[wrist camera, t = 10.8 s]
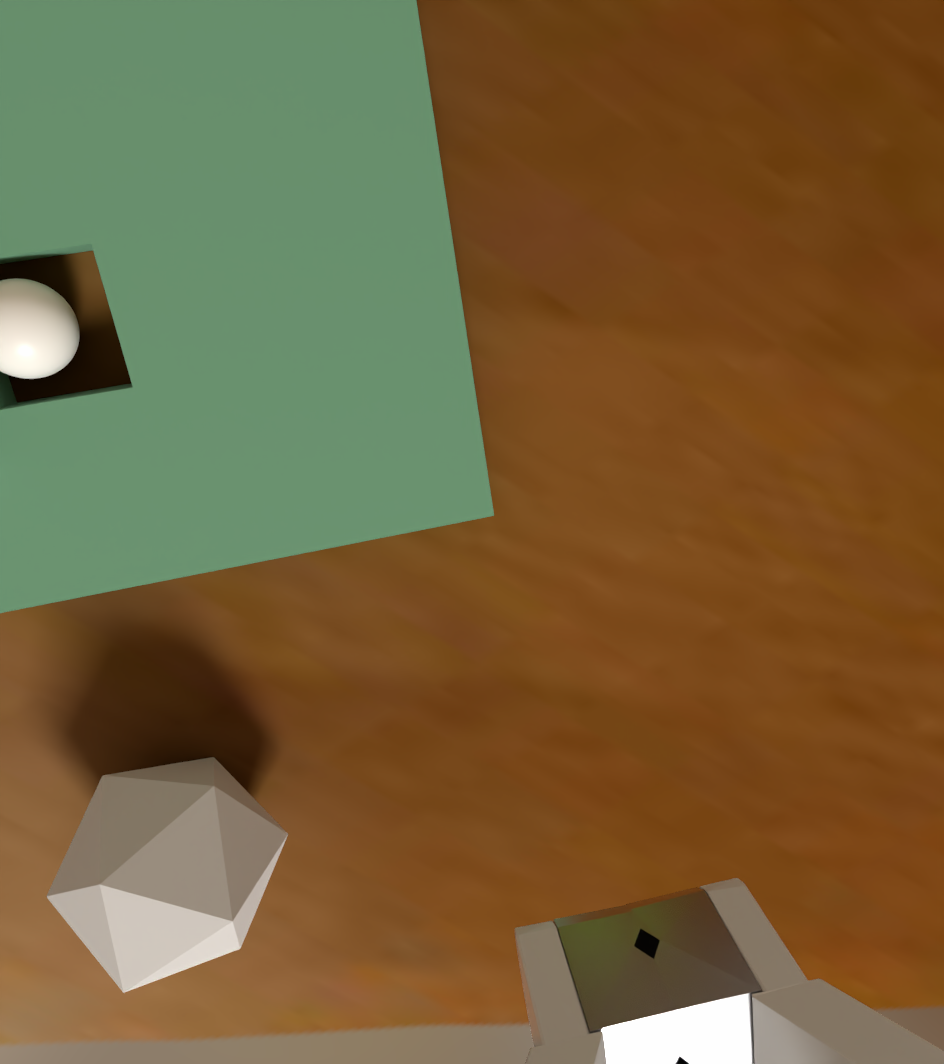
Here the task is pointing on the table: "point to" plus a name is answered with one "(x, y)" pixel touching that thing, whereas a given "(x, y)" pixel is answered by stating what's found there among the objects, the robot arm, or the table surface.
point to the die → (166, 869)
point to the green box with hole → (232, 289)
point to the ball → (35, 329)
